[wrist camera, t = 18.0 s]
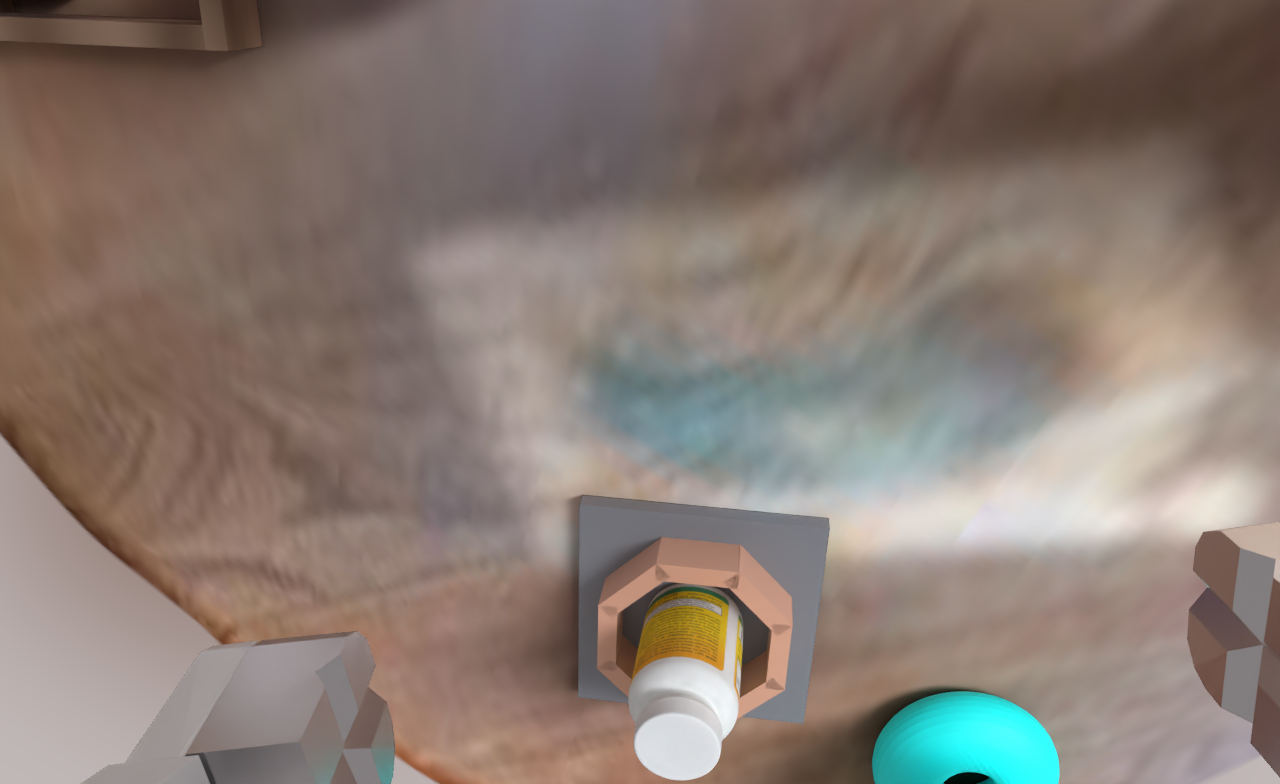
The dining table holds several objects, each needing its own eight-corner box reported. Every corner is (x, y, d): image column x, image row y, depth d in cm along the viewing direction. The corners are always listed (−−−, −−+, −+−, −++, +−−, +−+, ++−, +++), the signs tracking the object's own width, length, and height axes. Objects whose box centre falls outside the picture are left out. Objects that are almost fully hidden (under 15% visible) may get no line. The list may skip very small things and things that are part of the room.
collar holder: (828, 518, 49) (832, 556, 46) (802, 711, 54) (804, 757, 51) (582, 494, 50) (570, 529, 47) (581, 685, 56) (569, 728, 53)
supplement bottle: (762, 633, 51) (760, 768, 43) (681, 672, 53) (663, 808, 44) (706, 561, 50) (692, 685, 41) (626, 603, 52) (595, 731, 43)
